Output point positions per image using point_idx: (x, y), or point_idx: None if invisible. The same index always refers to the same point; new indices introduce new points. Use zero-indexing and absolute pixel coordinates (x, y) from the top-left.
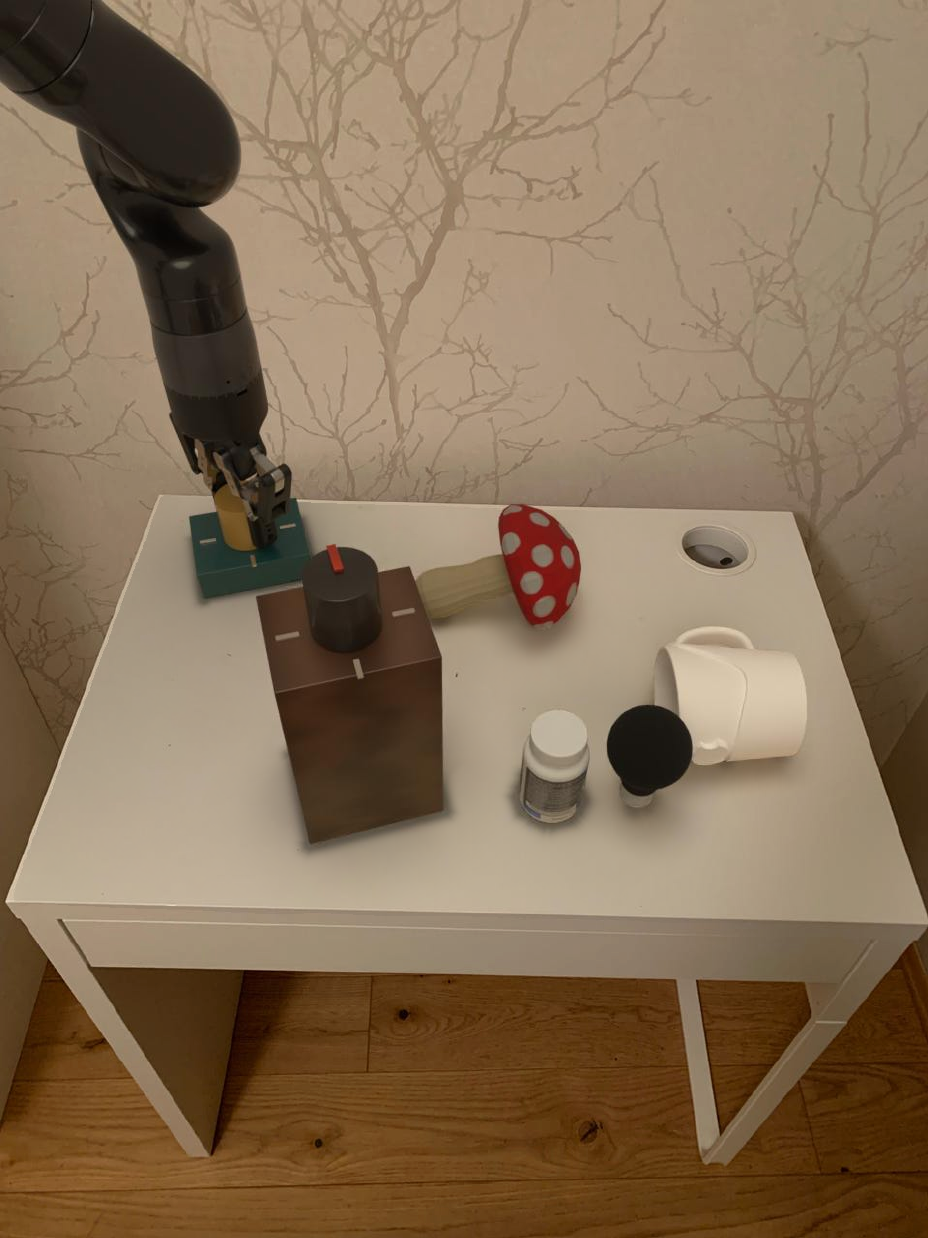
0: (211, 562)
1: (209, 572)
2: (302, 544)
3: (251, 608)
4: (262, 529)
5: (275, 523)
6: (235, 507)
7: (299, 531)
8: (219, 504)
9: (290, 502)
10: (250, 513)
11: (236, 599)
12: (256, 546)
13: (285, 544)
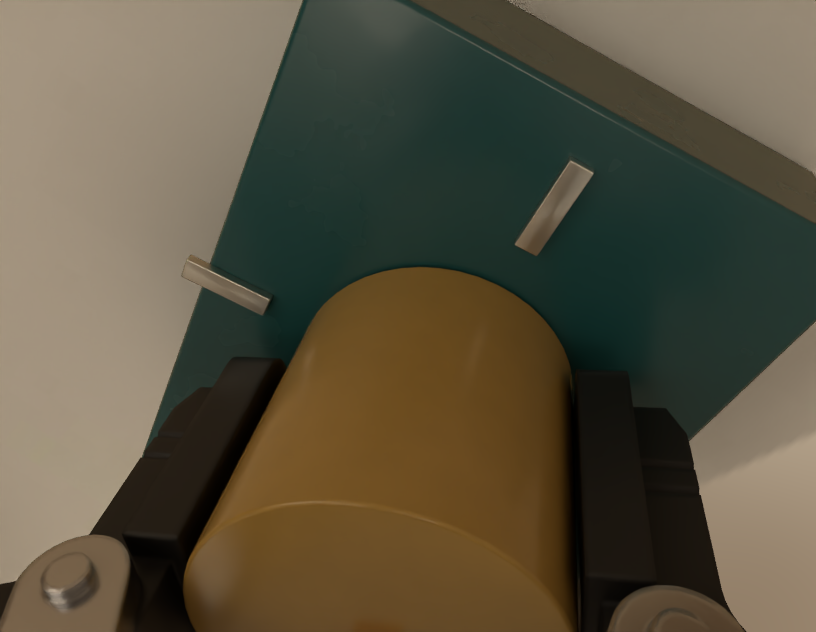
0: (370, 108)
1: (295, 42)
2: None
3: (173, 86)
4: (115, 496)
5: None
6: (270, 566)
7: None
8: (392, 528)
9: None
10: (41, 603)
11: (267, 67)
12: (237, 364)
13: None
